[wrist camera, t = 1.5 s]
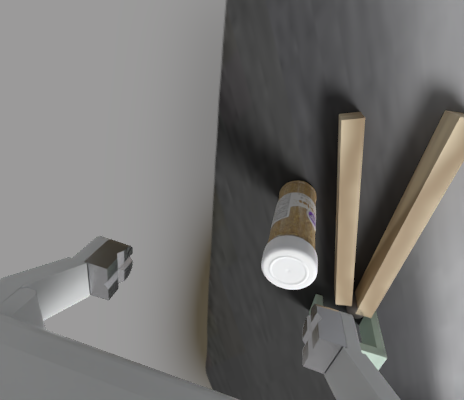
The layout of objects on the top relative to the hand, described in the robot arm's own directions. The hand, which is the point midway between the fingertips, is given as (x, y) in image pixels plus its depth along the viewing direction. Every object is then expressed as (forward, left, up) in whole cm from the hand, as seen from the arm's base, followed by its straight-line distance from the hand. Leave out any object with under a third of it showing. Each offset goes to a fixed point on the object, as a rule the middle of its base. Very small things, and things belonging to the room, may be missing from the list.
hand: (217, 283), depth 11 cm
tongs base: (-15, +8, -22) cm, 28 cm away
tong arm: (-10, +8, -22) cm, 25 cm away
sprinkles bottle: (-4, +6, -22) cm, 23 cm away
